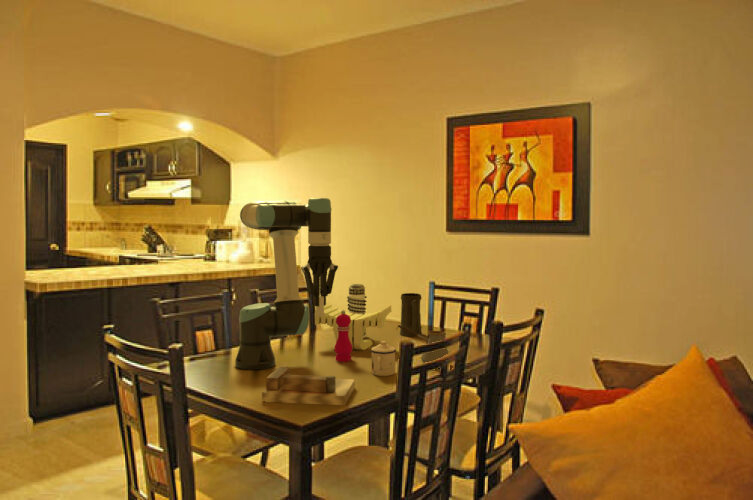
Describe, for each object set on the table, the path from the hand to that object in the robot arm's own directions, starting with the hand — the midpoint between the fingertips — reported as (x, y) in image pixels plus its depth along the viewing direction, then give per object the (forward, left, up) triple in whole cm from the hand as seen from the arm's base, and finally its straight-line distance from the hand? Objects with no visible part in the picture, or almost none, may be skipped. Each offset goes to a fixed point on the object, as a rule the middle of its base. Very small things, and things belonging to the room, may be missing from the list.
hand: (320, 315), depth 197 cm
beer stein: (+24, +91, -25) cm, 97 cm away
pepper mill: (0, +39, -25) cm, 46 cm away
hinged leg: (0, -13, -21) cm, 25 cm away
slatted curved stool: (0, +63, -25) cm, 68 cm away
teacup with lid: (+18, +20, -25) cm, 37 cm away
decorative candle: (-2, +84, -25) cm, 88 cm away
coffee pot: (+32, +36, -25) cm, 54 cm away
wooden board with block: (-2, -8, -24) cm, 26 cm away
